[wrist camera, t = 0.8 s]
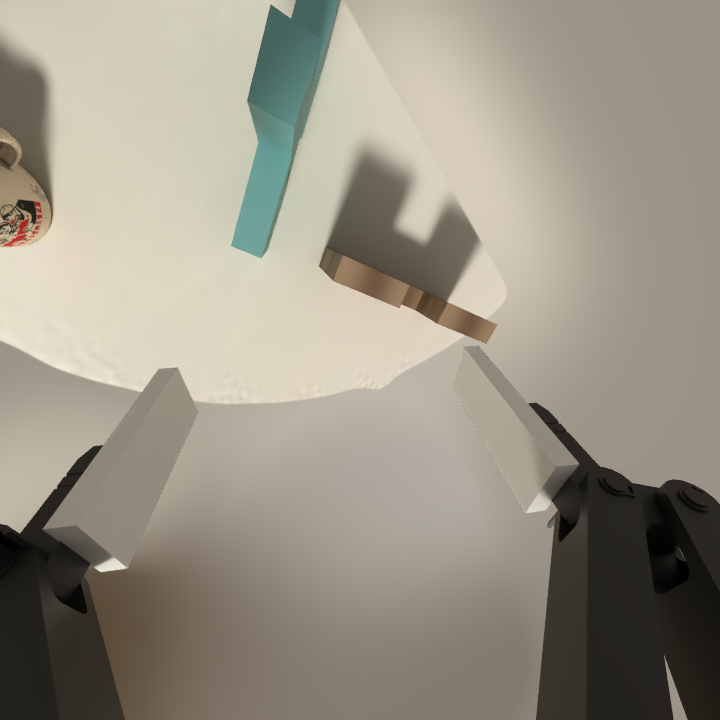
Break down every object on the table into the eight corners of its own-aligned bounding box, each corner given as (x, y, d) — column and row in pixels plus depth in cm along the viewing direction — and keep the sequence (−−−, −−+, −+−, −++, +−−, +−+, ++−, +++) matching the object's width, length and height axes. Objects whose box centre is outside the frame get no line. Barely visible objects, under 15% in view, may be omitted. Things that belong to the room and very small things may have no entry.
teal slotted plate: (267, 249, 36) (252, 269, 18) (246, 240, 35) (209, 253, 17) (325, 59, 30) (387, -186, 12) (302, 43, 29) (332, -249, 11)
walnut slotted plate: (319, 266, 38) (333, 280, 27) (325, 247, 37) (343, 255, 27) (438, 316, 45) (486, 343, 35) (446, 301, 45) (497, 324, 34)
